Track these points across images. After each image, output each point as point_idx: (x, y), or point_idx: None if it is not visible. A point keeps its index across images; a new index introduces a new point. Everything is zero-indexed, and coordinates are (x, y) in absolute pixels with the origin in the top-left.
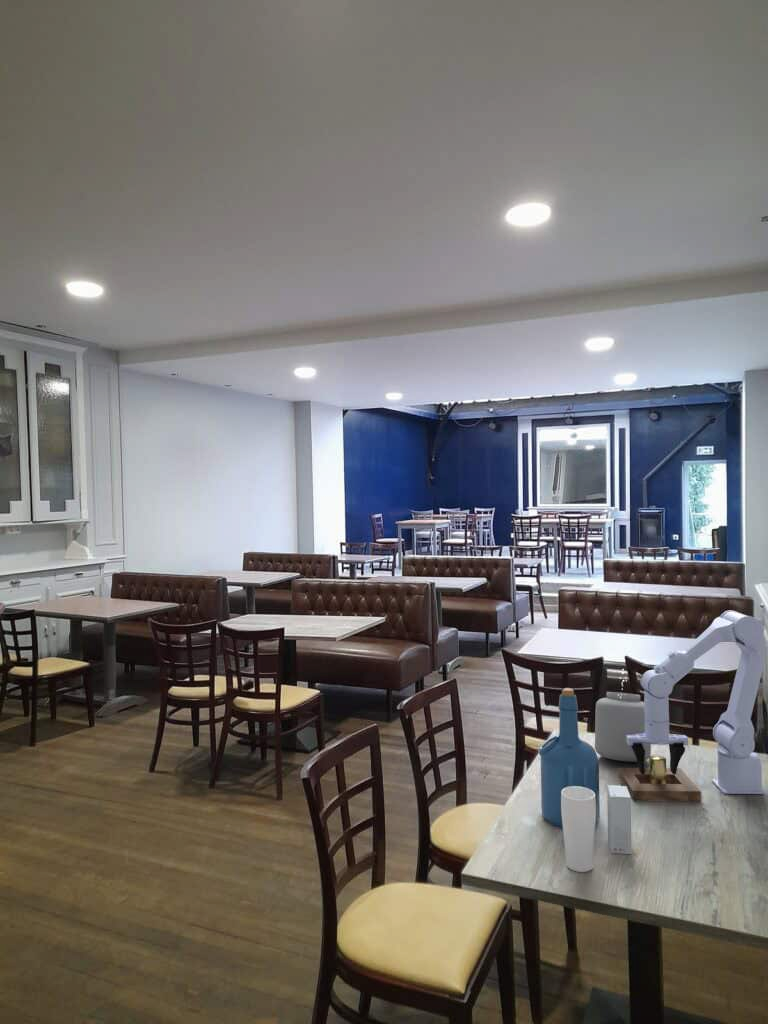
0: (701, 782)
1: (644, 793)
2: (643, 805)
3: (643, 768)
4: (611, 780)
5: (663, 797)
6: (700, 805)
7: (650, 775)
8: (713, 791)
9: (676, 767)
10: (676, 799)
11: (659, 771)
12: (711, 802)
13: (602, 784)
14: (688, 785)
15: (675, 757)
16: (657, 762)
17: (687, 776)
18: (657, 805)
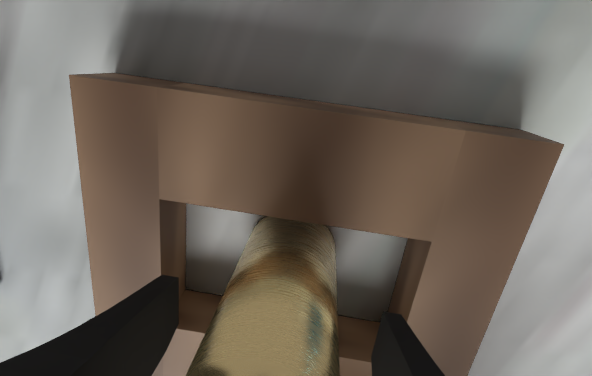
0: (51, 284)
1: (467, 128)
2: (493, 59)
3: (406, 341)
4: (477, 372)
5: (333, 106)
6: (134, 20)
7: (336, 300)
8: (17, 188)
9: (128, 301)
10: (253, 94)
11: (287, 285)
12: (59, 56)
13: (555, 343)
14: (125, 176)
15: (69, 370)
16: (292, 352)
17: (94, 290)
18: (401, 49)
